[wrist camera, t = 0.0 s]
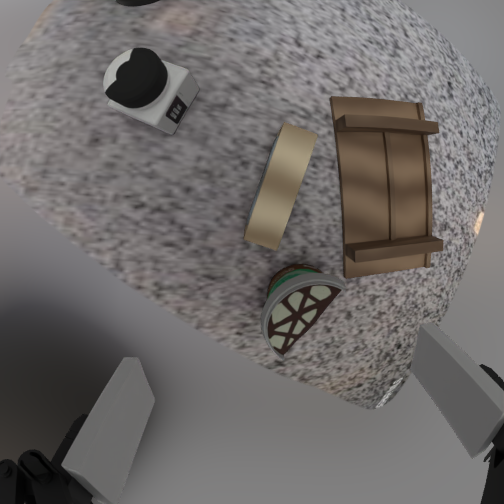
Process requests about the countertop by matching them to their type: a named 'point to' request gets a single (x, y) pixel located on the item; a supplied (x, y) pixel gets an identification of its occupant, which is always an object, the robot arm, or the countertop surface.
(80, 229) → the countertop surface
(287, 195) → the tan rectangular block
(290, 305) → the food container
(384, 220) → the wooden slatted panel
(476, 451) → the robot arm
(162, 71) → the container
